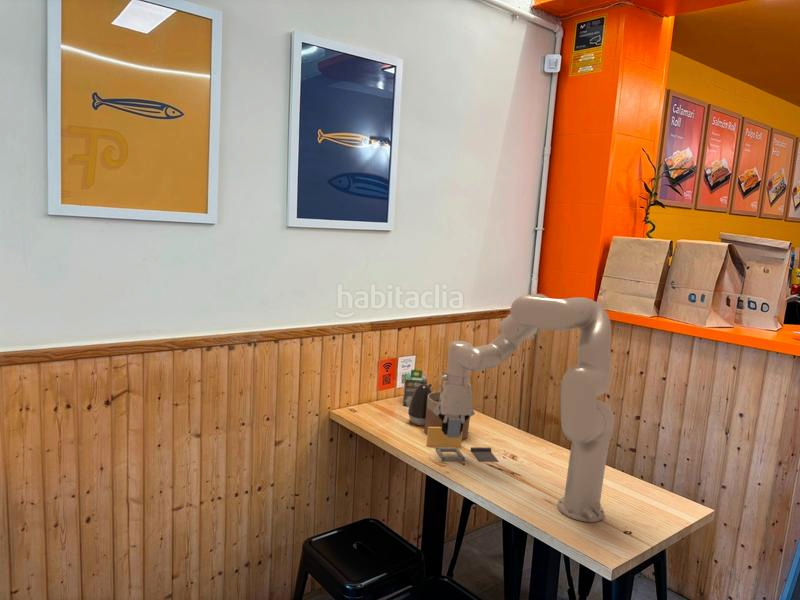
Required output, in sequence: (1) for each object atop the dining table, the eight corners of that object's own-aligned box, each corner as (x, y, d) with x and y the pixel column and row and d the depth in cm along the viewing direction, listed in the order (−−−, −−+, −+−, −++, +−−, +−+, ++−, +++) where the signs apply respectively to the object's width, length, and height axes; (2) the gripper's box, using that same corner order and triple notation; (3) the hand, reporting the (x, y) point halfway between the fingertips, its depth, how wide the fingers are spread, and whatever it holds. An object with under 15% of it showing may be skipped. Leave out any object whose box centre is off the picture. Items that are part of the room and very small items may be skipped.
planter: (436, 444, 202) (440, 406, 200) (416, 428, 216) (420, 392, 214) (475, 440, 209) (479, 403, 207) (454, 425, 223) (457, 390, 221)
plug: (459, 437, 189) (461, 419, 188) (447, 437, 189) (449, 419, 188) (455, 431, 194) (457, 414, 193) (443, 431, 193) (445, 413, 193)
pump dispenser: (439, 423, 224) (442, 384, 221) (425, 430, 215) (429, 390, 213) (416, 416, 229) (419, 378, 227) (402, 422, 220) (405, 384, 218)
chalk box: (424, 401, 249) (427, 367, 247) (425, 408, 240) (428, 373, 238) (402, 399, 249) (405, 365, 247) (402, 406, 240) (406, 371, 238)
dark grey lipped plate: (498, 462, 191) (499, 458, 191) (478, 462, 189) (479, 458, 189) (489, 451, 200) (490, 447, 199) (470, 451, 198) (470, 447, 198)
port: (470, 462, 189) (473, 441, 188) (435, 462, 187) (437, 441, 186) (459, 446, 202) (462, 427, 201) (426, 446, 199) (428, 426, 198)
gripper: (435, 381, 183) (429, 437, 186) (485, 383, 187) (479, 438, 189) (429, 375, 191) (424, 428, 193) (478, 377, 194) (472, 429, 196)
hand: (451, 432), depth 191 cm, fingers closed on plug, 4 cm apart
